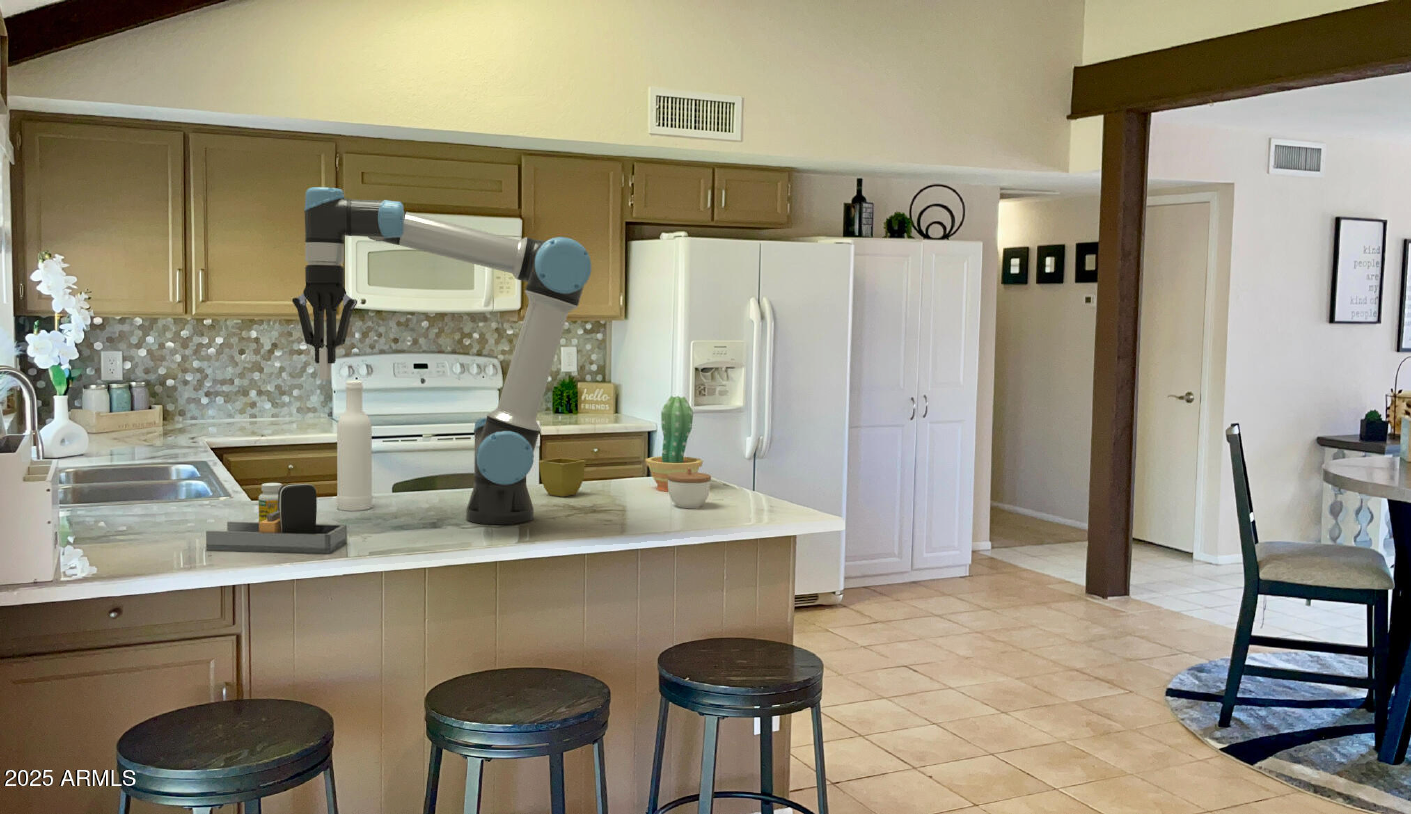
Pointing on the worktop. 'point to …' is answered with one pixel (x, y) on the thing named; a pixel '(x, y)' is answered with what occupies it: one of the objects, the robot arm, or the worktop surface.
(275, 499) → the supplement bottle
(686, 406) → the potted cactus
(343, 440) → the bottle
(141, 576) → the worktop surface
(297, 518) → the battery charger
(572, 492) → the flower pot
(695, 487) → the lidded jar
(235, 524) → the tray
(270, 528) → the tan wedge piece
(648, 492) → the worktop surface
